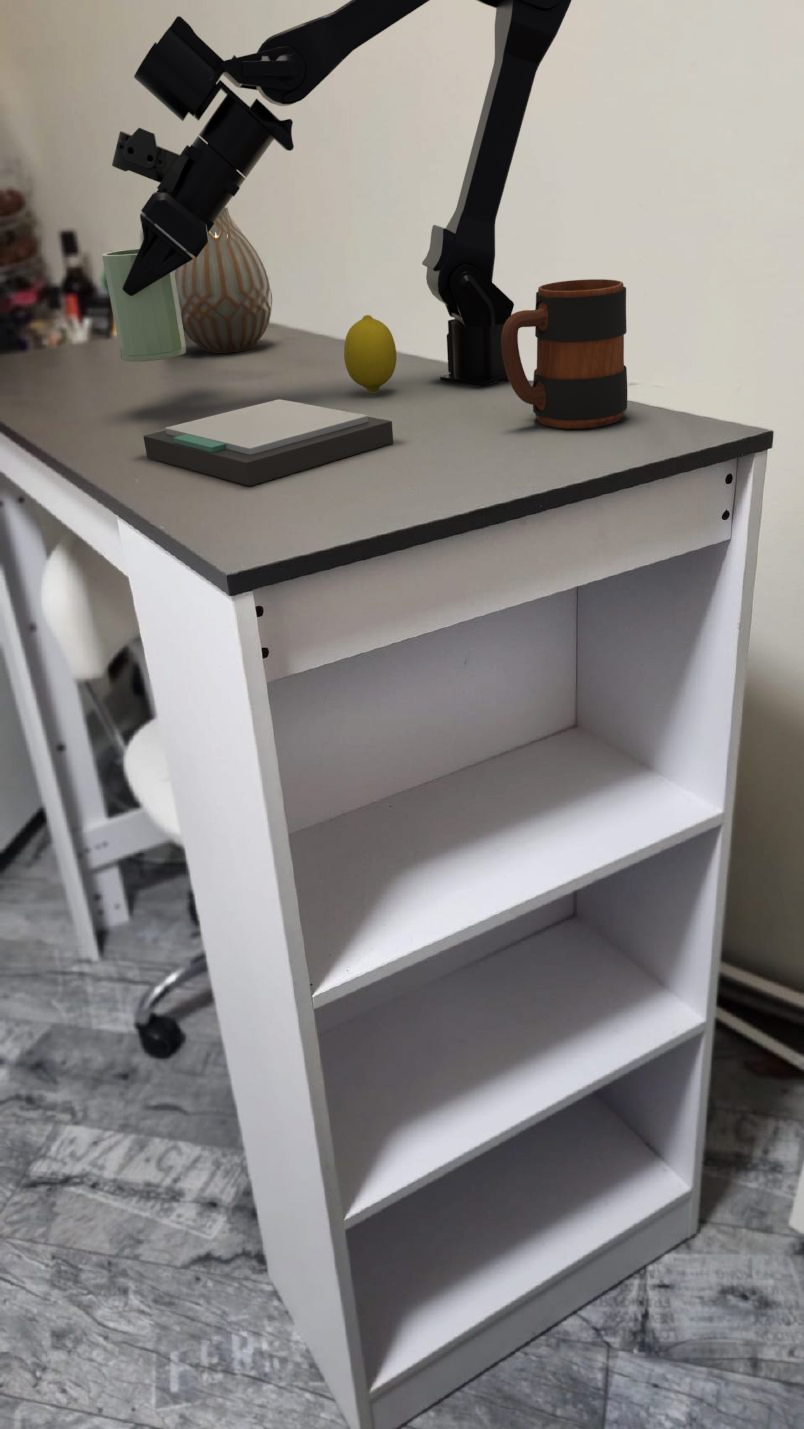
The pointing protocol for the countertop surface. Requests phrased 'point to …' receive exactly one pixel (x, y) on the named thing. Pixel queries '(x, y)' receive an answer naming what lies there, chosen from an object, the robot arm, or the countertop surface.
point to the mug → (573, 353)
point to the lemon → (370, 353)
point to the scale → (267, 440)
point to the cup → (144, 312)
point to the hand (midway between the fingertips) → (128, 288)
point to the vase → (225, 291)
